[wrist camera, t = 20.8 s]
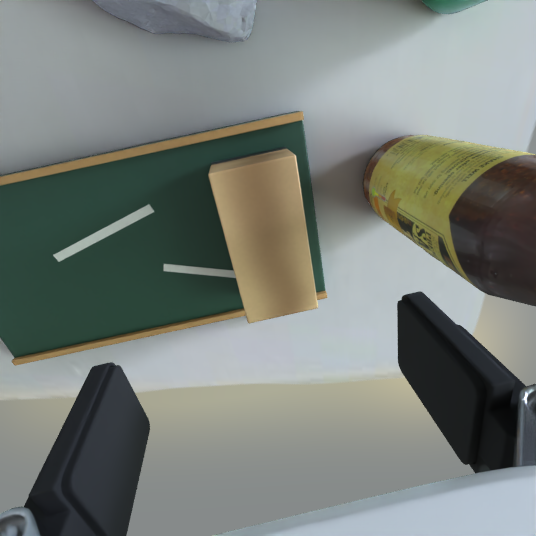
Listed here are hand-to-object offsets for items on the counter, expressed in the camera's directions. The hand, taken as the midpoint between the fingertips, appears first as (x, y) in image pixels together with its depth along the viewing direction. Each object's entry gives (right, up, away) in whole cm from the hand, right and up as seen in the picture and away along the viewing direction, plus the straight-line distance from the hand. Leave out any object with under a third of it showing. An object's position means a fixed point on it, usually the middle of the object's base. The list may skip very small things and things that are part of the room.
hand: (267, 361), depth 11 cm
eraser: (0, +6, +13) cm, 15 cm away
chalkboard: (-9, +5, +14) cm, 18 cm away
